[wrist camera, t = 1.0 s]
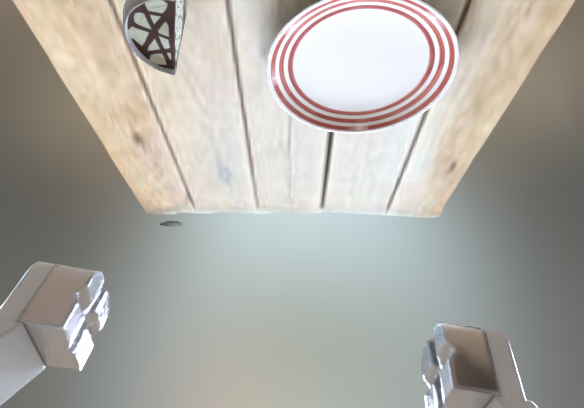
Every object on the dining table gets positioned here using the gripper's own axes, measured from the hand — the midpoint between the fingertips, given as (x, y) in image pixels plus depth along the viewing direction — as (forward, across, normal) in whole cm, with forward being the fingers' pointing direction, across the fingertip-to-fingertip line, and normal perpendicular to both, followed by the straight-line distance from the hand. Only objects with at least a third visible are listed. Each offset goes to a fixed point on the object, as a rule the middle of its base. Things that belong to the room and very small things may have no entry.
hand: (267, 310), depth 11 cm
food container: (+52, +21, +9) cm, 57 cm away
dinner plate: (+59, -6, +18) cm, 62 cm away
